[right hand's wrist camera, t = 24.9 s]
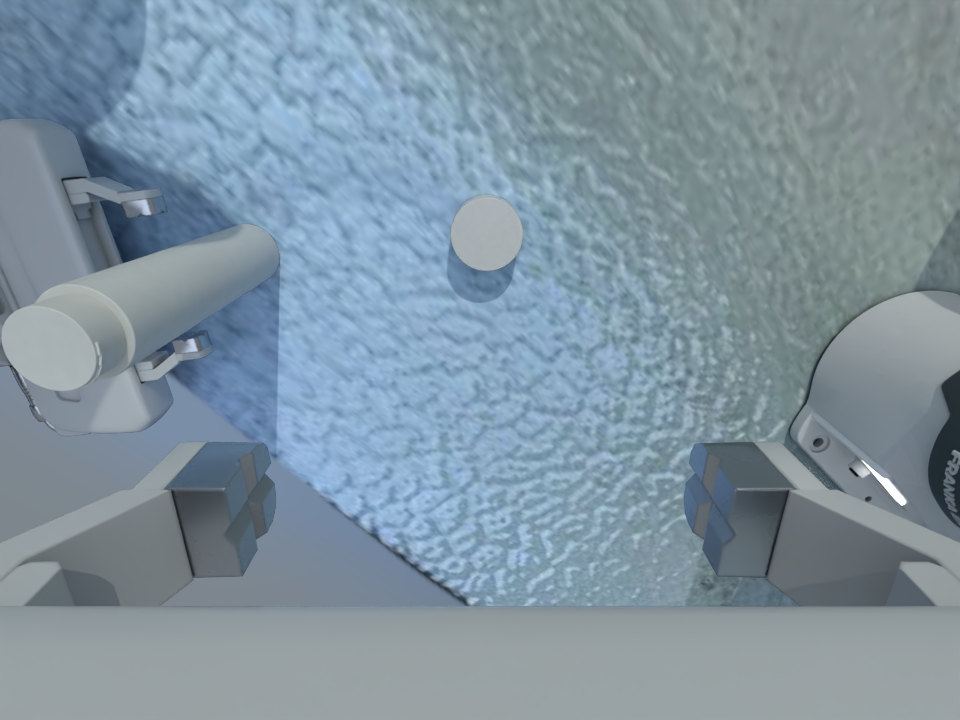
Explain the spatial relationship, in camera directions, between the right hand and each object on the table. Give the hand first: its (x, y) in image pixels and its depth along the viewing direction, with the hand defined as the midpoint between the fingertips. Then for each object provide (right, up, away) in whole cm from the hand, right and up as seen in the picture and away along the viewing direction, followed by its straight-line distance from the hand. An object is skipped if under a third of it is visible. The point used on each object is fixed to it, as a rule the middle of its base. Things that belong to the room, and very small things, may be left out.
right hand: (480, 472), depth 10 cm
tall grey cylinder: (-17, +10, +29) cm, 35 cm away
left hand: (-19, +8, +24) cm, 32 cm away
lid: (0, +11, +27) cm, 29 cm away
